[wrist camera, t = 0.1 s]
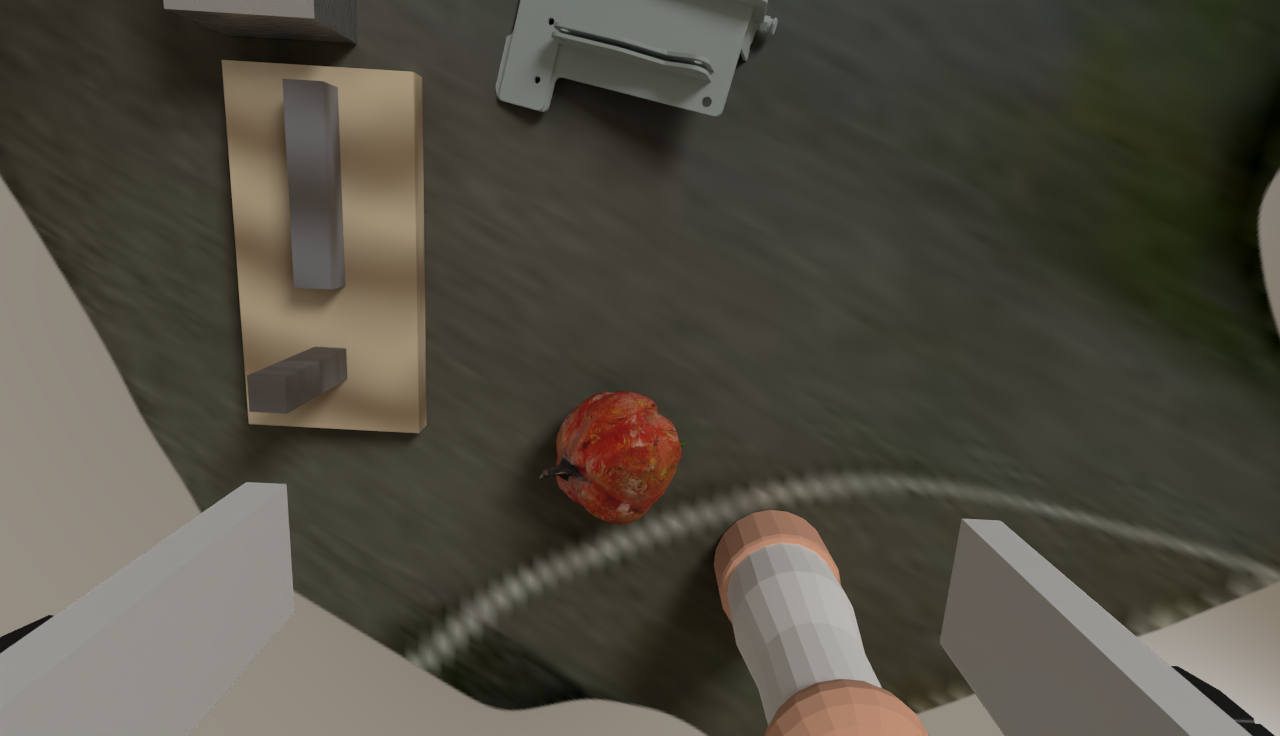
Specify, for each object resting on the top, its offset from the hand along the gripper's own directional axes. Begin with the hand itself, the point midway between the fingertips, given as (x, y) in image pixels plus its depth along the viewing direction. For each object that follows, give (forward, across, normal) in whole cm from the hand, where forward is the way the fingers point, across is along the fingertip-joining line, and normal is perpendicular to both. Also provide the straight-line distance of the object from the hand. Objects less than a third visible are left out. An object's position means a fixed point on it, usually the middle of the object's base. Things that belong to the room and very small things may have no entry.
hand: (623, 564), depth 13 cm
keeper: (+28, -17, +3) cm, 33 cm away
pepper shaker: (+28, +10, -15) cm, 33 cm away
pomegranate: (+28, 0, -7) cm, 29 cm away
